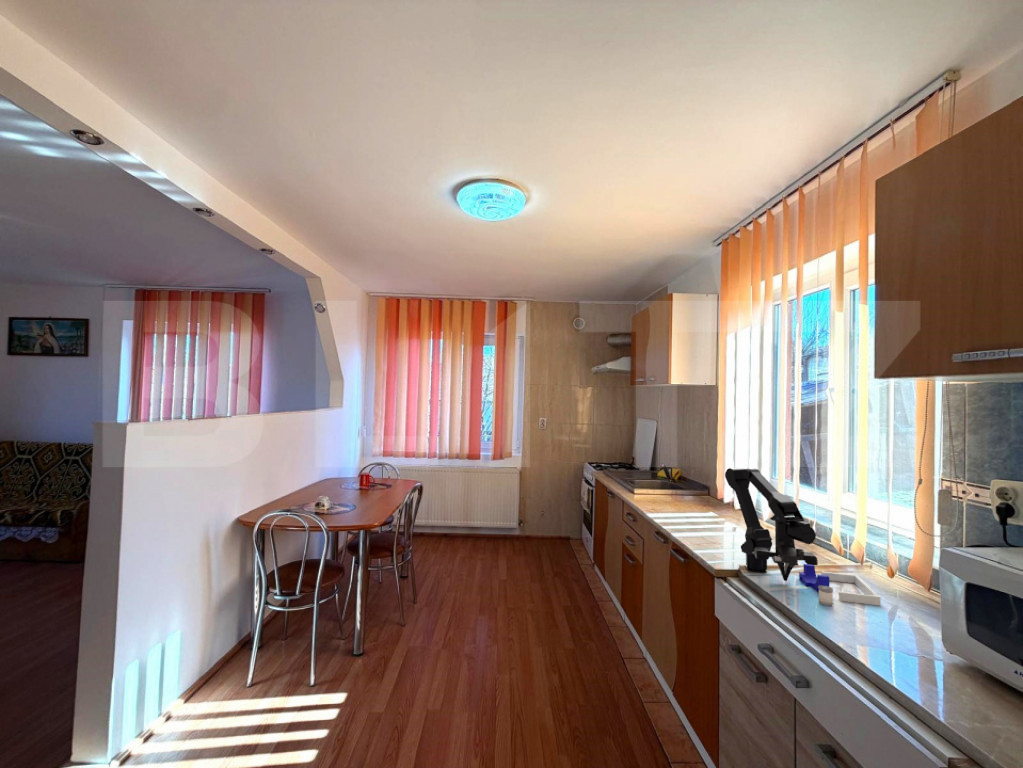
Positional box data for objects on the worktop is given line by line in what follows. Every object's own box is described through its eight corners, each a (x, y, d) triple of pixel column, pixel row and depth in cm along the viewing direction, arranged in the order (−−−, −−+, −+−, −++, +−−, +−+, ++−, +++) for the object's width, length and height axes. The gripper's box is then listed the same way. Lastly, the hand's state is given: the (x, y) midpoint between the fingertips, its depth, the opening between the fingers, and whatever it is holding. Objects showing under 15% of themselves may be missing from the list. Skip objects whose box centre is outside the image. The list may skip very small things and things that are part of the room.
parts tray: (839, 600, 151) (839, 592, 152) (821, 578, 170) (821, 571, 170) (880, 605, 148) (880, 597, 148) (857, 582, 166) (857, 575, 167)
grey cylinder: (820, 605, 148) (820, 589, 148) (817, 600, 151) (816, 584, 152) (834, 607, 147) (834, 590, 147) (830, 602, 150) (830, 586, 150)
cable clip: (799, 580, 169) (798, 563, 169) (812, 581, 168) (812, 564, 168) (814, 594, 157) (814, 575, 157) (829, 595, 156) (829, 576, 156)
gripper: (759, 539, 161) (759, 585, 160) (822, 545, 155) (822, 593, 154) (753, 530, 171) (754, 574, 171) (812, 536, 166) (813, 580, 165)
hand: (785, 580), depth 165 cm, fingers closed
